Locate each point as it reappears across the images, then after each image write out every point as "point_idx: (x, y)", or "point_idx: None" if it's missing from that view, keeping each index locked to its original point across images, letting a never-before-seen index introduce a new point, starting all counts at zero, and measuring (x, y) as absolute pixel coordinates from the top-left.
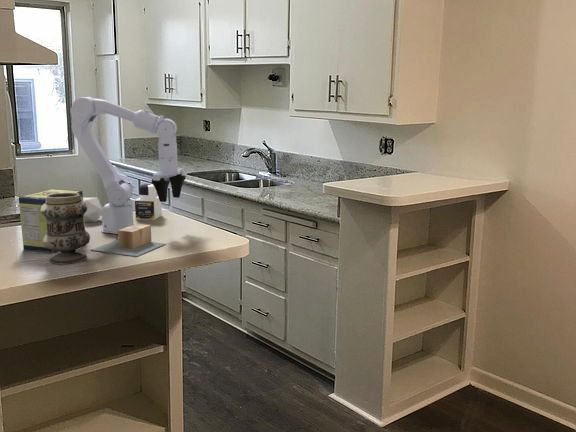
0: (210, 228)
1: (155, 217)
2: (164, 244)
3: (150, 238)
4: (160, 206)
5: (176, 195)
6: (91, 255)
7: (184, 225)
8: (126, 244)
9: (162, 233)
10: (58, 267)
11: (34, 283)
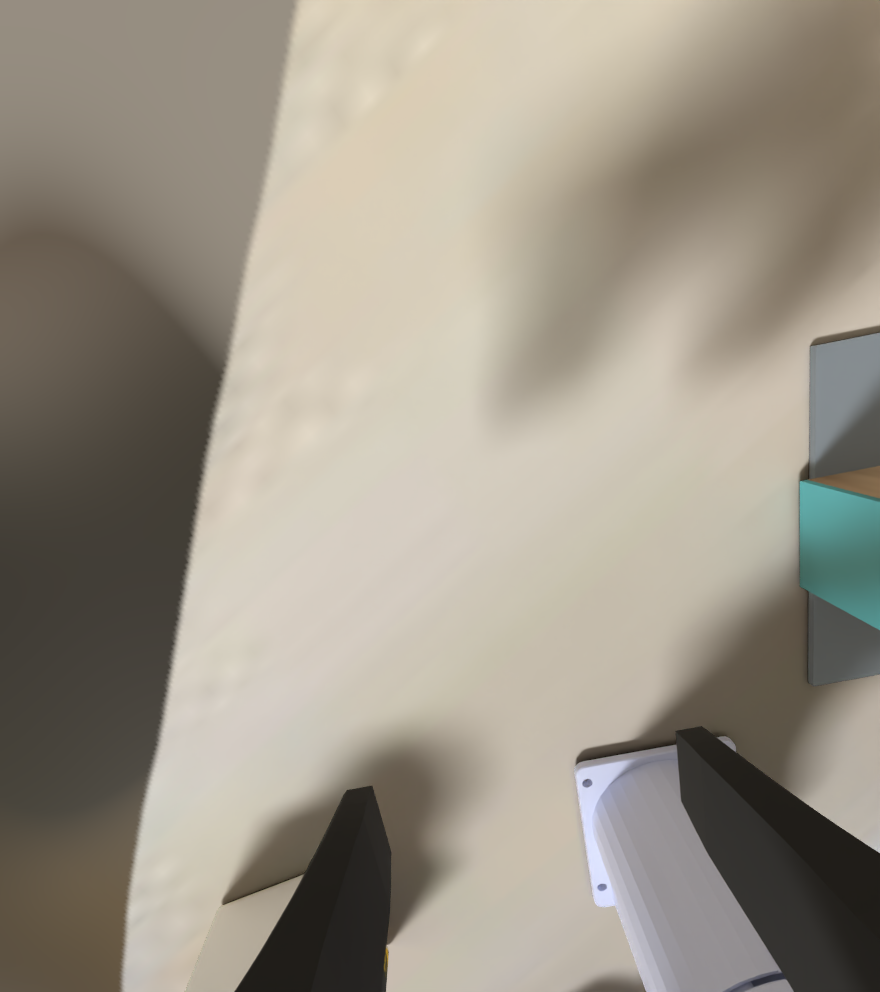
0: (247, 403)
1: None
2: (829, 342)
3: (829, 483)
4: (201, 985)
5: (376, 840)
6: None
7: (307, 625)
8: None
9: (568, 588)
10: None
11: None
